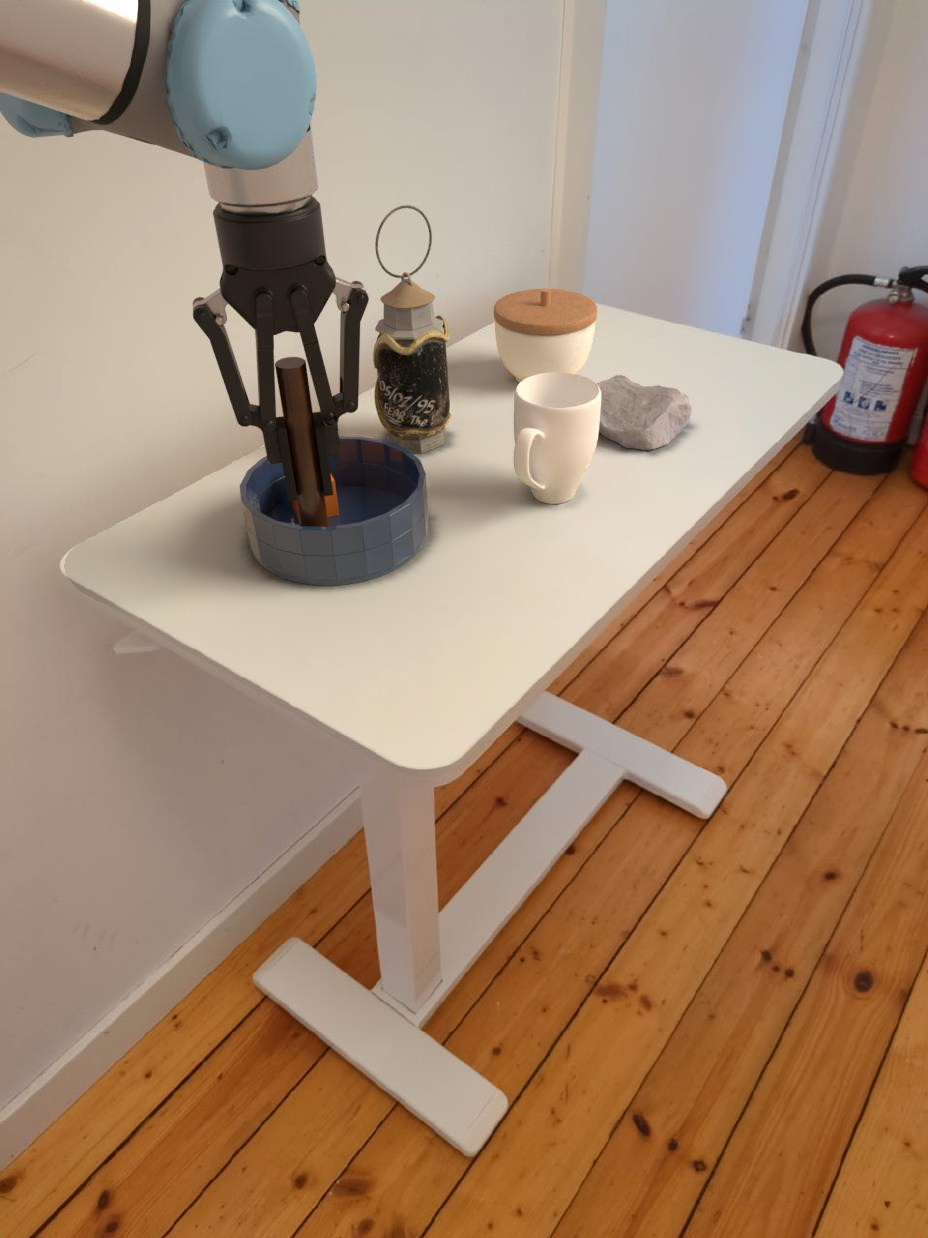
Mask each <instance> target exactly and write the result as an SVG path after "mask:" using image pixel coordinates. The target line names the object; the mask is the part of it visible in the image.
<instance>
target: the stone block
mask: <svg viewBox="0 0 928 1238" xmlns="http://www.w3.org/2000/svg"><path fill="white" fill-rule="evenodd" d="M596 384H597V385H598V386H599V388H600V390H601V410H600V423H599V434H601V435H602V436H603V437H605V438H606V439H608V440H610V441H612V442H615V443H618V445H619V446H621V447H623V448H626V449H633V450H643V451H649V450H655V449H658V448H661V447H664V446H668V445H669V444H670V442H671V441H672V440H673V439H674V438H675V437H676V436H677V435H680V433H681V432H682V430H684V429H685V428H687V426H688V424H689V423H690V418H691V414H692V405H691V402H690V398H689V396H688V395H686V393H683V392H681V391H680V390H679V389H678V388H674V387H667V386H662V385H659V384H658V385H652V386H651V385H647V386H645V385H642V384H640V383H639V382H638V383H637V382H634V381H632V380H630V379H629V377H627V376H626V375H622V374H617V375H614V376H612V377H610V378H608V379H604V380H601V381H599V382H597V383H596Z"/></svg>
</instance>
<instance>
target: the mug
mask: <svg viewBox="0 0 928 1238" xmlns="http://www.w3.org/2000/svg"><path fill="white" fill-rule="evenodd" d="M600 410H601V390H600V388H599V386H598V385H597V383H596V382H595V381H594V380H592V379H590V378H589V377H586V376H583V375H580V374H577V373H576V374H571V373H560V372H554V373H543V374H538V375H534V376H531V377H528V378H526V379H524V380H523V381H521V382H520V383H519V382H518V384H517V385H516V387H515V390H514V395H513V438H514V449H513V469H514V473H515V475H516V477H517V478H518V479H519V480H520V481H521V482H522V483H524V484H525V485H527V486H528V487H529V488H530V491H531V493H532V496H533V497H534V498H535V499H536V500H537V501H539V502H542V503H544V504H549V505H550V504H551V505H557V504H558V505H559V504H564V503H566V502H569V501H570V500H571V499H573V498H574V496H575V494H576V493H577V490H578V488H579V486H580V484H581V482H582V480H583V478H584V476H585V474H586V472H587V470H588V468H589V466H590V464H591V462H592V459H593V457H594V455H595V451H596V448H597V445H598V439H599V434H600V433H599V423H600Z"/></svg>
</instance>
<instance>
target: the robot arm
mask: <svg viewBox="0 0 928 1238" xmlns="http://www.w3.org/2000/svg"><path fill="white" fill-rule="evenodd" d="M300 15H301V6H300V4H299V2H298V0H0V114H1V115H2V117H3V118H4V119H5V121H6V122H7V123H8V124H9V125H10V126H11V127H12V128H13V129H14V130H15V131H17V132H18V133H20V134H21V135H23V136H24V137H29V138H33V139H36V138H37V139H38V138H47V137H58V136H64V137H66V138H74V137H75V135H76V134H80V133H84V132H91V131H105V132H108V133H111V134H114V135H117V136H121V137H125V138H128V139H132V140H135V141H138V142H141V143H145V144H148V145H153V146H158V147H160V148H164V149H166V150H170V151H173V152H175V153H178V154H181V155H184V156H187V157H191V158H194V159H197V160H199V161H200V162H202V163H203V170H204V175H205V180H206V184H207V190H208V195H209V197H210V198H211V200H213V201H214V202H217V204H216V205H215V207H214V209H213V210H212V216H213V221H214V227H215V232H216V237H217V243H218V248H219V253H220V259H221V263H222V273H221V275H220V279H219V288H218V289H216V290H215V291H213V292H212V293H210V294H209V295H207V296H206V297H202V296H198V297H196V298H194V299H193V302H192V318H193V320H194V321H195V323H196V324H197V326H198V327H199V329H200V330H201V331H202V332H203V333H204V335H205V336H206V337H207V338H208V340H209V343H210V345H211V348H212V351H213V354H214V357H215V360H216V363H217V366H218V369H219V372H220V375H221V378H222V381H223V383H224V386H225V390H226V393H227V396H228V399H229V401H230V404H231V407H232V410H233V413H234V416H235V419H236V422H237V424H238V425H240V427H242V428H243V427H245V428H246V427H249V426H251V427H256V428H258V429H259V430H260V431H261V433H262V438H263V442H264V448H265V453H266V456H267V459H268V461H269V462H270V464H276V463H282V464H283V470H284V476H285V482H286V488H287V493H288V499H289V501H295V500H298V499H297V493H296V486H295V480H294V474H293V468H292V462H291V455H290V449H289V443H288V437H287V431H286V425H285V424H284V417H283V415H282V416H277V402H276V401H277V400H276V399H277V398H276V378H275V377H276V375H275V373H276V371H275V339H274V338H275V337H274V336H277V335H279V334H282V333H285V332H289V333H299V336H300V339H301V342H302V346H303V347H302V348H303V351H304V354H305V358H306V363H307V366H308V369H309V374H310V377H311V380H312V384H313V388H314V391H315V395H316V399H317V402H318V403H317V404H318V407H319V411H314V412H313V418H314V428H315V435H316V442H317V449H318V456H319V464H320V471H321V478H322V485H323V491H324V496H329V495H333V488H332V481H331V473H330V466H329V458H328V456H333V455H339V453H340V450H341V447H340V439H339V436H340V430H339V419H340V418H341V417H342V416H343V415H345V414H353V413H355V412H357V411H358V409H359V395H360V394H359V393H360V391H359V390H360V388H359V387H360V354H361V353H360V351H361V322H362V319H363V317H364V314H365V311H366V309H367V307H368V304H369V301H370V298H369V297H370V296H369V294H368V292H367V289H365V285H364V284H363V283H362V282H361V281H359V280H353V281H352V282H351V281H348V280H346V279H343V278H340V277H339V276H338V277H337V276H336V273H335V272H334V270H333V268H332V266H331V265H330V263H329V261H328V257H327V252H326V243H325V234H324V225H323V217H322V208H321V203H320V202H319V201H318V200H317V198H316V197H315V196H313V195H314V194H315V193H316V192H317V191H318V189H319V181H318V174H317V172H318V171H317V163H316V156H315V155H316V154H315V147H314V140H313V133H312V131H313V130H312V126H311V123H312V118H313V113H314V111H315V103H316V99H317V89H318V88H317V72H316V65H315V60H314V56H313V55H314V54H313V52H312V49H311V46H310V43H309V40H308V38H307V36H306V34H305V31H304V30H303V28H302V27H301V22H300ZM332 294H334V296H335V304H336V307H337V309H338V310H339V311H340V315H339V316H340V317H339V318H340V319H339V320H340V321H339V392H338V393H336V394H334V395H333V393H332V390H331V386H330V382H329V378H328V374H327V370H326V366H325V362H324V358H323V354H322V350H321V347H320V343H319V342H320V341H319V338H318V335H317V334H318V333H317V330H316V327H315V324H316V322H317V321H318V319H319V317H320V315H321V314H322V312H323V310H324V308H325V306H326V305H327V303H328V301H329V299H330V298H331V296H332ZM227 305H229V306H230V307H231V308H232V309H233V310H234V311H235V312H236V313H237V314H238V315H239V316H240V317H241V318H242V319H243V321H245V322H246V323H247V324H248V325H249V326H250V327H251V328H252V329H253V330H254V337H255V352H256V353H255V354H256V370H257V371H256V374H257V392H258V394H257V395H258V396H257V397H258V405H257V404H252V403H251V402H250V399H249V397H248V392H247V390H246V387H245V384H244V381H243V378H242V375H241V371H240V368H239V366H238V362H237V360H236V356H235V354H234V353H235V352H234V350H233V347H232V344H231V341H230V337H229V335H228V331H227V329H226V326H225V324H227V321H228V314H227V310H226V307H227Z"/></svg>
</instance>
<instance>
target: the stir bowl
mask: <svg viewBox="0 0 928 1238" xmlns="http://www.w3.org/2000/svg"><path fill="white" fill-rule="evenodd" d="M339 439H340V447H341V450H340V453H339V455H333V456H328V458H329V466H330V473H331V475H332V477H333V478H334V480H335V487H336V495H337V502H338V510H339V515H337V516H333V517H328V525H329V527H314V526H301V524H300V523H299V521H298V518H297V516H296V514H295V512H294V510H293V507H292V505H291V501H289V499H288V493H287V488H286V482H285V476H284V470H283V464H282V463H276V464H270V462H269V461H268V459H267V455H265V456H264V457H262V458H260V459H259V460H258V461H257V462H255V464H253V465H252V466H250V467H249V469H247V470H246V473H245V474H244V476H243V478H242V480H241V482H240V484H239V495H240V502H241V507H242V512H243V517H244V521H245V526H246V532H247V536H248V540H249V547H250V549H251V551H252V554H253V557H254V558H255V559H256V561H257V562H258V563H259V564H260V565H261V566H262V567H263V568H264V569H265V570H267V571H268V572H269V573H271V574H273V575H275V576H277V577H279V578H282V579H284V580H287V581H290V582H293V583H299V584H303V585H312V586H343V585H351V584H357V583H361V582H366V581H370V580H373V579H377V578H380V577H383V576H385V575H387V574H389V573H391V572H393V571H395V570H398V569H399V568H401V567H402V566H404V565H406V564H407V563H408V562H410V561H411V560H412V559H414V557H415V556H417V554H418V553H420V551H421V549H422V548H423V547H424V545H425V544H426V541H427V538H428V534H429V523H430V519H429V517H430V516H429V501H428V499H429V498H428V484H427V473H426V470H425V468H424V466H423V464H422V461H421V459H420V458H419V457H417V456H416V455H415V454H414V453H411V452H410V451H408V450H407V449H406V448H403V447H401V446H398V445H396V444H393V443H391V442H388V441H387V440H383V439H380V438H379V439H378V438H373V437H368V436H355V435H354V436H347V435H346V436H345V435H339Z"/></svg>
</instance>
